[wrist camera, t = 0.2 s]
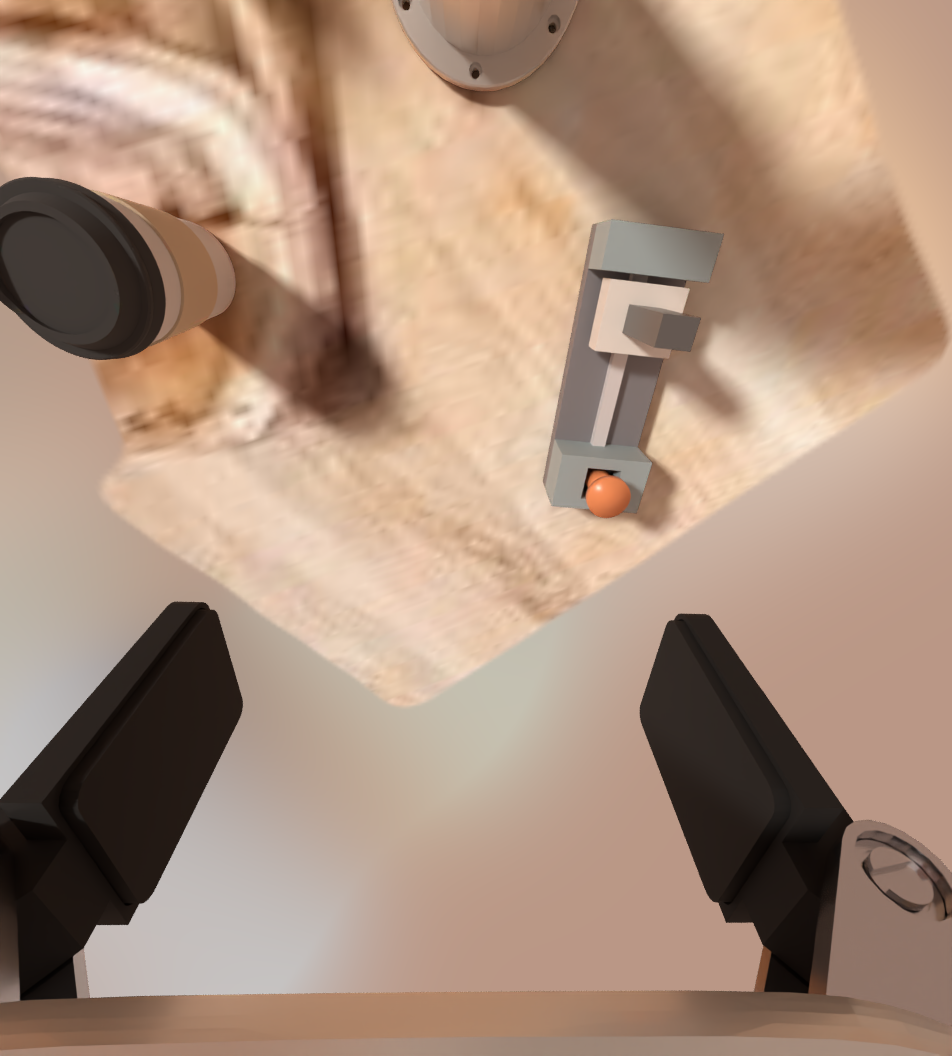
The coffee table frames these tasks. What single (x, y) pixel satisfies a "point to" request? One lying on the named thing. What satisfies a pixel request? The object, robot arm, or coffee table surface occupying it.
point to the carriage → (642, 319)
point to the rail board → (616, 360)
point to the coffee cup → (105, 269)
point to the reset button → (606, 493)
